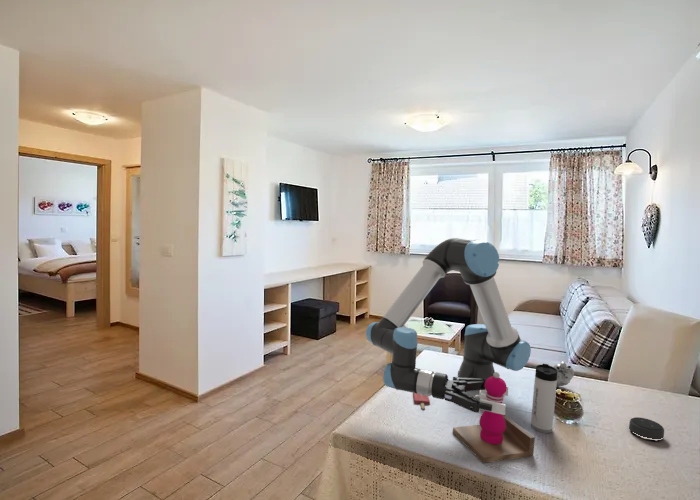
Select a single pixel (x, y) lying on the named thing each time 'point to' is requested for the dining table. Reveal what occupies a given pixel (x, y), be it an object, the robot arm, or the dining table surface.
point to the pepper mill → (493, 421)
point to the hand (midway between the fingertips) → (506, 400)
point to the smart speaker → (646, 428)
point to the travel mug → (544, 398)
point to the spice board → (512, 446)
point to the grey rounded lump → (563, 374)
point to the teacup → (482, 395)
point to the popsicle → (421, 400)
